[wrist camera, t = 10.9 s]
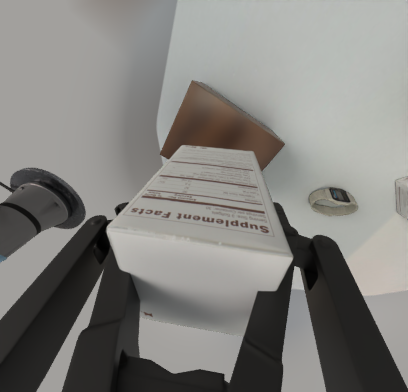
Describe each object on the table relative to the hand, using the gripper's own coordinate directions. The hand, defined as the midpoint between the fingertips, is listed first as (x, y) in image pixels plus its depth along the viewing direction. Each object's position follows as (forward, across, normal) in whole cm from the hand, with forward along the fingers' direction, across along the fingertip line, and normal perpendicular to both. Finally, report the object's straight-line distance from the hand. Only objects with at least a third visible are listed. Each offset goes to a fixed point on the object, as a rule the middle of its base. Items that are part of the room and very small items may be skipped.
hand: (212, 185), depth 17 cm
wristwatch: (+22, +25, -13) cm, 36 cm away
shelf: (+22, 0, 0) cm, 22 cm away
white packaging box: (+2, 0, 0) cm, 2 cm away
